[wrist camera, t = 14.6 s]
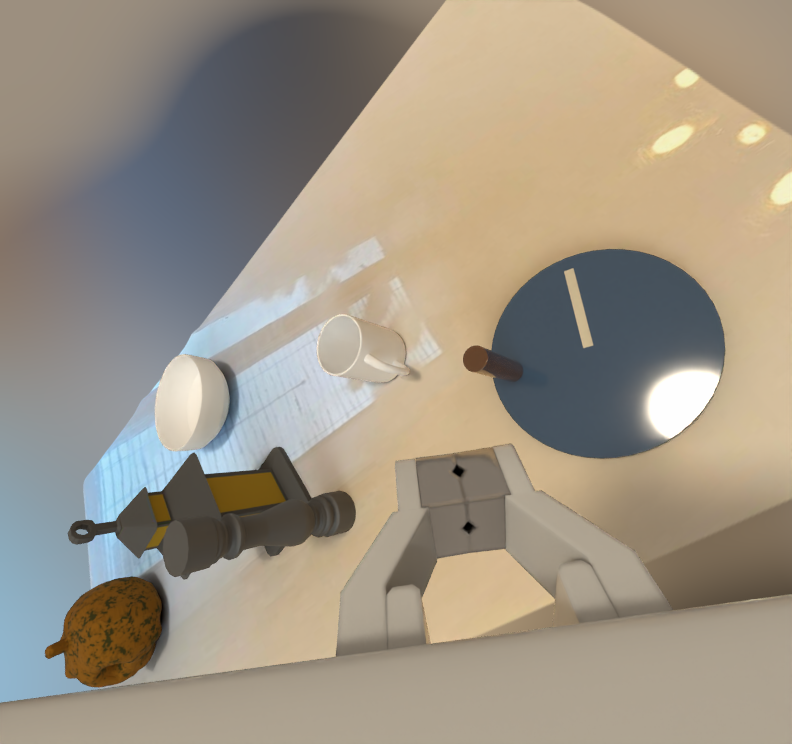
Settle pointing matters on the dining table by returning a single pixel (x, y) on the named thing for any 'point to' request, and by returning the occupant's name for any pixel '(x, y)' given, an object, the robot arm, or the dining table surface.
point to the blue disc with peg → (605, 353)
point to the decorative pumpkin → (110, 632)
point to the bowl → (190, 403)
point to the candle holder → (253, 531)
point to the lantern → (199, 502)
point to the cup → (360, 350)
